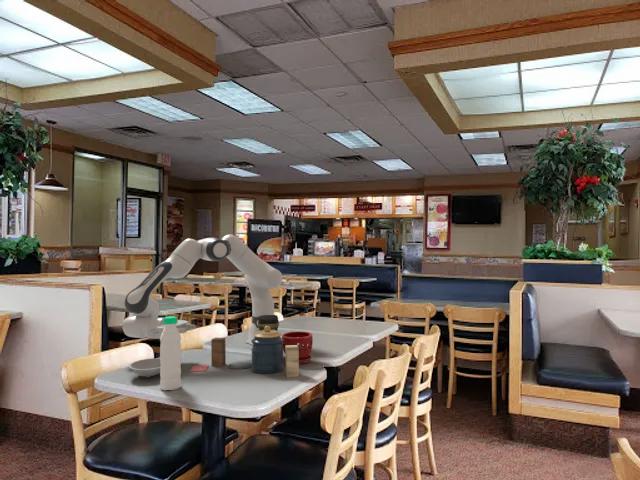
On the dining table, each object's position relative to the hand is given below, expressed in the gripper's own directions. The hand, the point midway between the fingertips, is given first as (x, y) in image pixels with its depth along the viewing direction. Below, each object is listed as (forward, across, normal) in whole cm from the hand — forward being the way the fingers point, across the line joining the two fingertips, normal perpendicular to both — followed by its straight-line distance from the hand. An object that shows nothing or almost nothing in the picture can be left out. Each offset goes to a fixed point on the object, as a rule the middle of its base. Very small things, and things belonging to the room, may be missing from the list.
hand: (190, 328), depth 203 cm
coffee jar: (+29, +18, +15) cm, 38 cm away
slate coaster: (+22, -1, +15) cm, 27 cm away
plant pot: (+44, +9, +15) cm, 48 cm away
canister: (+35, -5, +15) cm, 38 cm away
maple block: (+46, -12, +15) cm, 50 cm away
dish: (-8, -21, +15) cm, 27 cm away
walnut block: (+12, 0, +15) cm, 19 cm away
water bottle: (+7, -34, +15) cm, 38 cm away
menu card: (+7, -7, +16) cm, 18 cm away
